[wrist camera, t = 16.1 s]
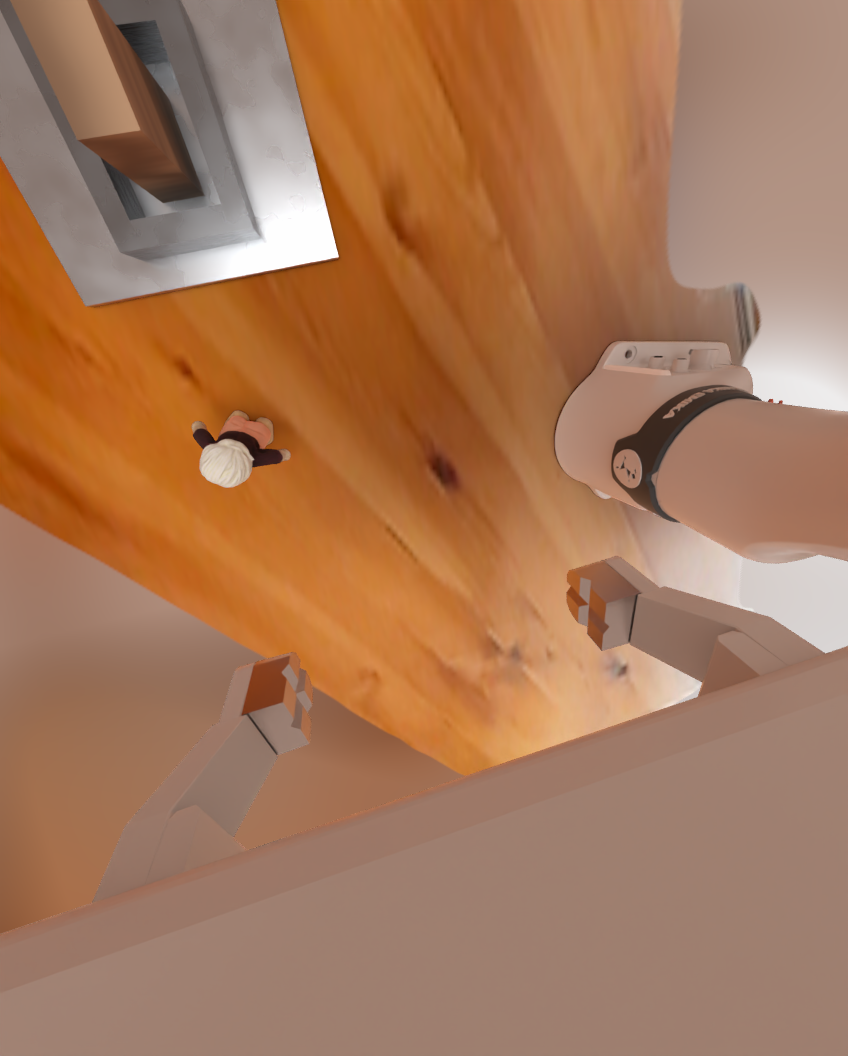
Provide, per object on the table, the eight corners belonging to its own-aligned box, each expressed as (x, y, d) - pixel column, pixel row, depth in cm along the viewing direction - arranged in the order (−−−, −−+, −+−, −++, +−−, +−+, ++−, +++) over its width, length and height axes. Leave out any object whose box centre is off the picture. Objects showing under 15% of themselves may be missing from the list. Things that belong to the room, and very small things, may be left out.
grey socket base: (268, -25, 23) (253, -101, 19) (338, 259, 31) (338, 248, 27) (-68, 16, 21) (-163, -58, 17) (94, 307, 29) (55, 303, 25)
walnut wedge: (168, 97, 24) (72, -35, 15) (204, 195, 26) (140, 130, 18) (121, 104, 24) (-3, -26, 15) (163, 203, 26) (77, 140, 18)
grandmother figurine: (214, 443, 36) (160, 493, 25) (211, 403, 34) (151, 437, 23) (296, 453, 38) (279, 503, 27) (297, 416, 36) (280, 452, 25)
